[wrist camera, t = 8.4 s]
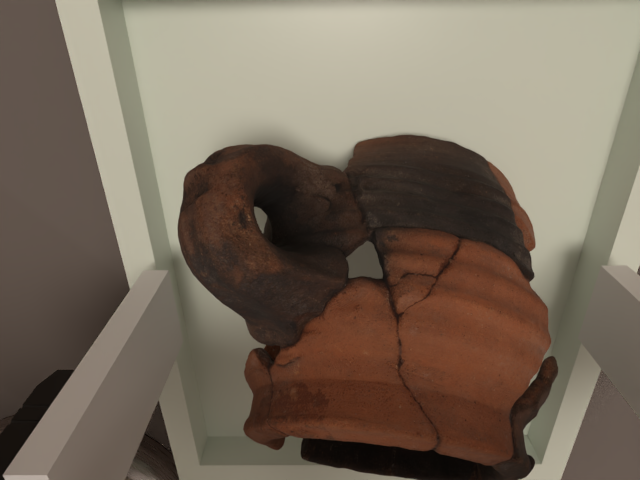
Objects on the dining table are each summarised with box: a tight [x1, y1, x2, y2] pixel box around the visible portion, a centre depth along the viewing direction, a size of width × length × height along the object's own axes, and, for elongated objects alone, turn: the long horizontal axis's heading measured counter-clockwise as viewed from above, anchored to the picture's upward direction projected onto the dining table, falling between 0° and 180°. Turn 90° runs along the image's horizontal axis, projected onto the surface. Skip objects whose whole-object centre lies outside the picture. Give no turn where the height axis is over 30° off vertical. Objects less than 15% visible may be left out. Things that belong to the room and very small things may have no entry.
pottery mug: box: [177, 135, 558, 480], centre depth 13 cm, size 12×10×8 cm
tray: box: [55, 0, 640, 480], centre depth 15 cm, size 16×19×2 cm
